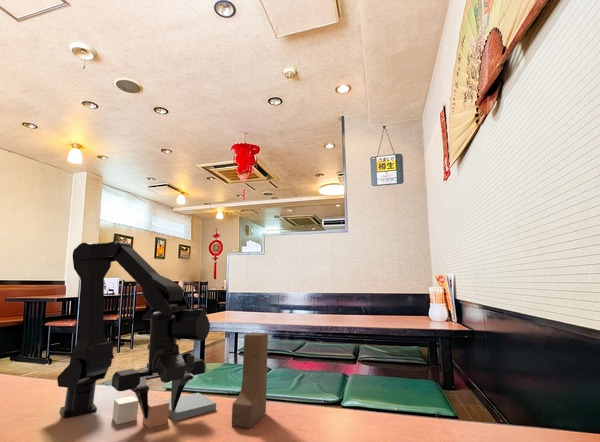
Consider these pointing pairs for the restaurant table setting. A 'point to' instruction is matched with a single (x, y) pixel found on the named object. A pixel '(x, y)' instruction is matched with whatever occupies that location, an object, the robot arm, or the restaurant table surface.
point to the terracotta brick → (157, 412)
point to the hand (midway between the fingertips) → (159, 414)
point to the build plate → (191, 406)
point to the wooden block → (252, 382)
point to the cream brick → (125, 409)
